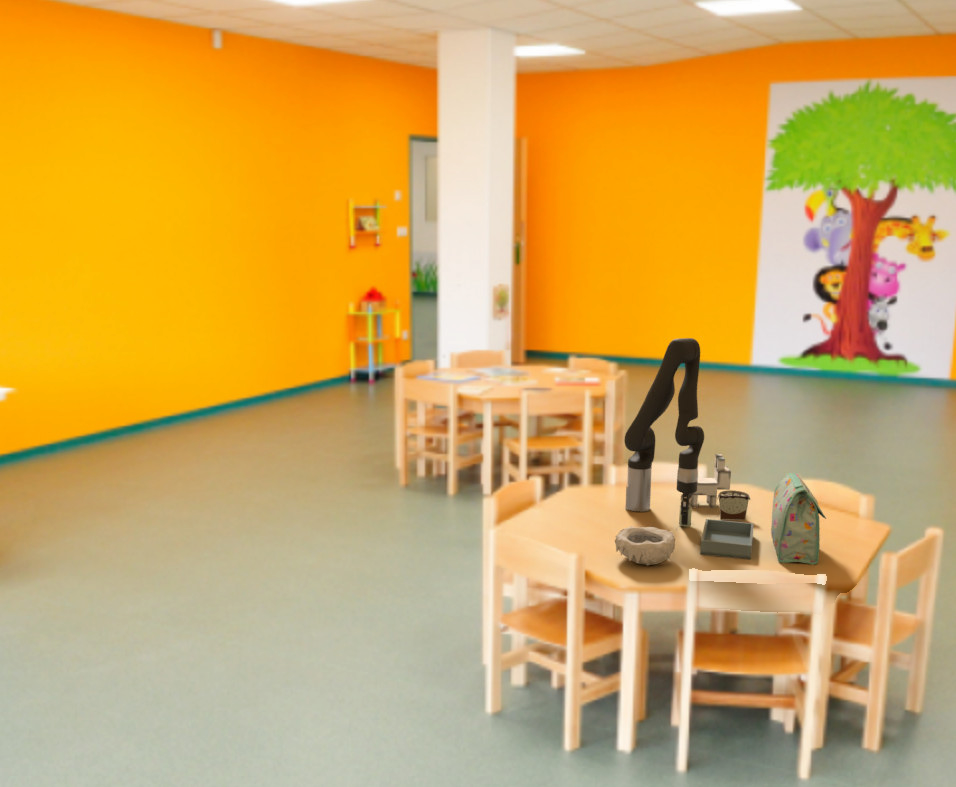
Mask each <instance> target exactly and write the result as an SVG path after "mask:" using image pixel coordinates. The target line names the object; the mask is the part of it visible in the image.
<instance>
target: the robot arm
mask: <svg viewBox="0 0 956 787" xmlns="http://www.w3.org/2000/svg"><path fill="white" fill-rule="evenodd" d="M700 361H701V346H700V344H699V341H697V340H696V339H695V338H692V337H691V338H689V337H686V338H682V337H681V338H675V339H672V340H671V341H670V342H669V343H668V346H667V347H666V350H665V353H664V356H663V358H662V362H661V364H660V366H659V369H658V371H657V373H656V376H655V378H654V380H653V382H652V384H651V385H650V387H649V390H648V391H647V393H646V396H645V398H644V401H643V403H642V405H641V406H640V408H639V410H638V413H636V414H637V415H636V416H635V418H634V420H633V421H632V423H631V424H630V425H629V427H628V429H627V430H626V432H625V434H624V439H623V440H624V445H625V447H626V449H627V450H628V451H630V452H634V453H633V454H632V455H631V456H629V458H628V460H627V481H626V482H627V484H626V486H625V488H626V489H625V490H626V491H625V510H627V511H628V510H629V511H632V512H636V511H638V513H639V511H640V513H641V512H648V511H649V510H651V494H652V492H651V491H652V467H653V465H652V464H653V462H654V459H655V453H656V452H655V451H656V450H655V449H656V435H655V434H656V433H655V431H654V430H653V428H652V425H653V424H654V423H655V422H656V421H657V420H658V419H659V418H661V416H662V415H663V414H664V413H665V412H666V410H667V409H668V408H669V406H670V404H671V403H672V401H673V398H674V395H675V393H676V392H675V391H676V388H675V375H676V374H677V373H676V372H677V371H678V369H679V367H680V366H681V365H682V364H684V369H685V370H684V376H683V381H682V383H681V386H680V389H679V391H678V396H677V406H678V407H677V408H678V409H677V410H678V417H677V423H676V428H675V432H674V438H675V439H674V440H675V442H676V443H677V445H679V446H681V447H687V449H684V450H682V451H680V452H679V455H678V467H677V473H676V477H677V478H676V491H677V492H679V493H681V496H680V500H679V501H680V505H681V515H682V520H681V524H682V525H687V523H688V515H689V513H688V511H689V509H690V506H691V500H692V495H691V494H692V493H695V492H696V491H697V483H698V478H699V470H698V468H699V456H700V454H701V451H702V447H703V444H704V441H705V432H704V429H703V427H701V426H699V425H693V426H691V425H690V426H689V423H690V422H692V421H694V420H697V419H698V417H699V407H698V405H699V404H698V384H699V383H698V382H699V372H700ZM688 505H689V506H688ZM683 510H686V512H683Z"/></svg>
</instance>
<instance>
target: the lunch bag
mask: <svg viewBox="0 0 956 787" xmlns="http://www.w3.org/2000/svg"><path fill="white" fill-rule="evenodd" d="M819 505H820V504H819V502H818V499H817V498H816V497H815V495H814V494H813V493H812V491H811V490H810V488H809V487H808V486H807V484H806V483H805V481H804V480H803V479H802V477H800V476H799V475H798V474H797V473H796V472H790V473H787V474H786V475H785V476H784V477H783V478H782V479H781V480H780V481H779V482H778V484H777V485H776V486H775V489H774V492H773V498H772V512H771V526H770V527H771V528H770V535H771V538H772V544H773V547H774V549H775V553H776V557H777V561H778V563H783V564H785V563H789V564H790V563H797V562H799V563H801V564H803V563H804V564H808V565H812V564H813V565H817V564H818V563H819V557H820V540H821V539H820V536H821V534H820V516H821V517H822V518H824V519H825V520H826V519H827V517H826V516H825V514H824V513H823V511H822V509H821V508H820V506H819ZM813 565H812V566H813Z"/></svg>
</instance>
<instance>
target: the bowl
mask: <svg viewBox="0 0 956 787" xmlns="http://www.w3.org/2000/svg"><path fill="white" fill-rule="evenodd" d="M614 544H615V552H618V551H619V552H620V556H622V555H623V556H624V557H626V558H627V560H628V561H629V562H630V561H632V562H634V563H636V564H639V565H646V566H647V567H648V566H650V565H658V564H660V563H662V562H664V561H666V560H670V559H671V557H672V554H673V553H674V550H676V549H675V547H676V538H675V534H674V532H673V531H668V530H667V529H660V528H658V527H656V526H655V527H654V526H648V527H647V526H645V527H642V526H639V527H634V526H629V527H625V528H623V529H621V530H619V532H618V533H617V534H616V535H615V539H614Z"/></svg>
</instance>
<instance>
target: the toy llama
mask: <svg viewBox="0 0 956 787" xmlns="http://www.w3.org/2000/svg"><path fill="white" fill-rule="evenodd" d="M723 456H724V455H723V454H721V453H715V454H714V471H713V472H714V473H713V477H698V483H697V491H696V492H695V493H692V494H691V495H692V500H691V506H692V508H698V500H699V499H698V498H699V496H706V503H707V504H708V507H709V508H717V503H718V502H717V500H718V499H717V498H718V491H719V490H723V491H728V490H731V478H732V471H731V470H730V468H729V467H728V466H726V458H725V457H723Z"/></svg>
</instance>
